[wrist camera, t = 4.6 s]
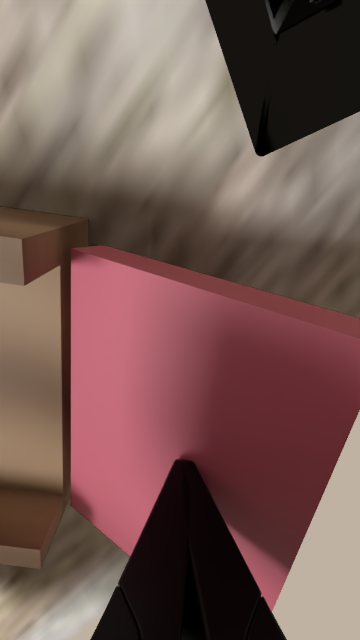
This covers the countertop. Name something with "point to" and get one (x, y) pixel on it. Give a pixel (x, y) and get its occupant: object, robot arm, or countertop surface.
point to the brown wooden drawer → (35, 379)
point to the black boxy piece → (290, 64)
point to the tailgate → (205, 401)
